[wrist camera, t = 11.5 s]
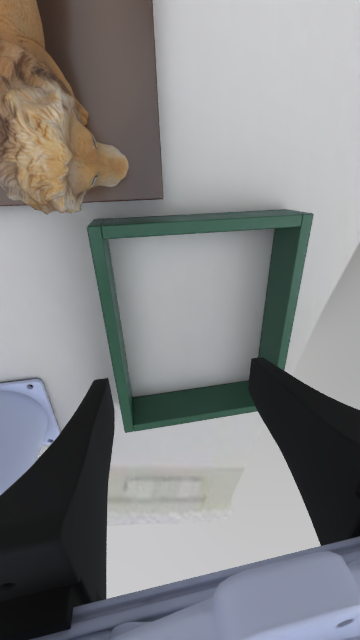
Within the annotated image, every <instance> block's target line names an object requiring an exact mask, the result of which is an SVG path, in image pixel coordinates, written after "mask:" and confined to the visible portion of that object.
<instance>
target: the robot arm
mask: <svg viewBox="0 0 360 640" xmlns="http://www.w3.org/2000/svg"><path fill="white" fill-rule="evenodd" d="M28 384H31V385H32V386H29V385H28ZM248 390H249V393H250V395H251V398H252V400H253V403H254V405H255V407H256V409H257V411H258V412H259V414H260V416H261V417H262V419H263V421H264V423H265V424H266V426H267V428H268V429H269V431H270V433H271V434H272V436H273V438H274V439H275V441H276V443H277V445H278V446H279V448H280V450H281V452H282V454H283V456H284V458H285V460H286V462H287V464H288V467H289V469H290V471H291V473H292V475H293V477H294V480H295V482H296V484H297V487H298V489H299V491H300V493H301V496H302V498H303V500H304V503H305V506H306V508H307V510H308V513H309V516H310V518H311V520H312V523H313V526H314V528H315V531H316V534H317V536H318V539H319V541H320V544H321V546H320V547H315V548H311V549H307V550H303V551H299V552H295V553H291V554H287V555H283V556H279V557H275V558H271V559H267V560H263V561H259V562H255V563H251V564H247V565H243V566H239V567H235V568H230V569H227V570H222V571H218V572H214V573H210V574H207V575H203V576H198V577H194V578H191V579H186V580H182V581H178V582H174V583H170V584H166V585H162V586H158V587H154V588H150V589H146V590H142V591H138V592H134V593H129V594H126V595H121V596H117V597H113V598H109V599H106V537H107V495H108V478H109V470H110V462H111V454H112V445H113V437H114V405H113V400H112V395H111V390H110V385H109V380H108V378H105V379H97V380H94V382H93V383H92V385H91V387H90V389H89V390H88V392H87V394H86V396H85V397H84V399H83V401H82V402H81V404H80V405H79V407H78V409H77V410H76V412H75V413H74V415H73V416H72V418H71V419H70V421H69V422H68V423H67V425H66V426H65V427H64V429H63V430H62V432H61V433H60V430H59V427H58V424H57V422H56V419H55V416H54V413H53V410H52V407H51V404H50V402H49V399H48V396H47V393H46V390H45V387H44V384H43V382H42V381H41V380H40V379H31V380H23V381H15V382H8V383H0V640H360V410H358V409H355V408H353V407H350V406H347V405H345V404H343V403H341V402H339V401H337V400H335V399H332V398H330V397H328V396H326V395H324V394H322V393H320V392H319V391H317V390H315V389H313V388H311V387H310V386H308V385H306V384H304V383H303V382H301V381H299V380H298V379H296V378H295V377H293V376H291V375H290V374H288V373H287V372H285V371H284V370H282V369H281V368H279V367H278V366H276V365H274V364H273V363H271V362H270V361H268V360H267V359H265V358H263V357H261V358H253V359H251V368H250V377H249V386H248ZM48 444H51V445H50V446H49V448H48V449H47V450H46V451H45V452H44V453H43V454H42V455H41V456H40V458H39V459H38V460H37V458H38V455H39V452H40V449H41V446H42V445H48Z"/></svg>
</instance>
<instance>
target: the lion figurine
mask: <svg viewBox="0 0 360 640" xmlns="http://www.w3.org/2000/svg"><path fill="white" fill-rule="evenodd" d="M88 116H89V115H88V112H87V111H86V109H85V108H84V107H83V106H82V105H81V104H80V103H79V102H78V101H77V99H76V98H75V97H74V94H73V91H72V88H71V86H70V85H69V83H68V82H67V80H66V79H65V77H64V75H63V73H62V72H61V70H60V69H59V67H58V66H57V64H56V63H55V62H54V60H53V59H52V58H51V56H50V55H49V54H48V53H47V52H46V51H45V42H44V34H43V27H42V22H41V18H40V14H39V10H38V6H37V2H36V0H0V186H1V187H2V188H3V189H4V190H5V191H6V192H7V196H8V197H9V198H10V199H12V200H22V201H23V202H24V203H25V204H27V205H29V206H31V207H33V208H34V209H36V210H41V211H43V212H44V213H45V214H49V213H50V212H52V211H59V212H61V213H64V212H65V211H66V212H68V213H72V212H79V211H81V209H80V206H81V204H82V201H83V197H84V195H85V193H86V191H87V190H89V189H91V188H93V187H95V186H98V185H101V186H107V187H113V186H116V185H117V184H118V183H119V182H120V180H121V179H123V178H124V177H125V176H126V174H127V171H128V161H127V158H126V157H125V155H123V154H121V152H120V151H119V150H118V149H117V148H115V147H114V146H112V145H107V144H101V143H98V142H96V140H95V138H94V136H93V134H92V133H91V132H90V131H89V130H88V129H87V128H86V127H84V126H85V125H86V124H87V119H88Z"/></svg>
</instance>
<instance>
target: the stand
mask: <svg viewBox="0 0 360 640" xmlns="http://www.w3.org/2000/svg"><path fill="white" fill-rule="evenodd" d="M36 2H37V6H38V10H39V14H40V18H41V22H42V27H43V34H44V42H45V51H46V52H47V53H48V54H49V55H50V56H51V58H52V59H53V60H54V62H55V63H56V64H57V66H58V67H59V69H60V70H61V72H62V73H63V75H64V77H65V79H66V80H67V82H68V83H69V85H70V86H71V88H72V91H73V94H74V97H75V98H76V99H77V101H78V102H79V103H80V104H81V105H82V106H83V107H84V108H85V109H86V111H87V112H88V115H89V116H88V119H87V124H86V125H85V126H84V127H86V128H87V129H88V130H89V131H90V132H91V133H92V134H93V136H94V138H95V140H96V142H98V143H101V144H107V145H112V146H114V147H115V148H117V149H118V150H119V151H120V152H121V154H123V155H125V157H126V158H127V161H128V171H127V174H126V176H125V177H124V178H123V179H121V180H120V182H119V183H118V184H117V185H116V186H113V187H107V186H101V185H98V186H95V187H93V188H91V189H89V190H87V191H86V193H85V195H84V197H83V201H82V203H87V202H109V201H132V200H154V199H163V183H162V165H161V147H160V129H159V111H158V93H157V75H156V57H155V39H154V21H153V3H152V0H36ZM19 205H27V204H25V203H24V202H23V201H22V200H12V199H10V198H9V197H8V196H7V192H6V191H5V190H4V189H3V188H2V187H1V186H0V206H19Z"/></svg>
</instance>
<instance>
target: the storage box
mask: <svg viewBox="0 0 360 640" xmlns="http://www.w3.org/2000/svg"><path fill="white" fill-rule="evenodd" d="M312 220H313V214H312V213H306V212H299V211H293V210H287V209H284V210H266V211H247V212H228V213H209V214H190V215H172V216H153V217H134V218H115V219H105V220H104V219H97V220H93V221H92V222H91V223H90V224H89V225H88V227H87V231H88V236H89V241H90V247H91V252H92V258H93V263H94V268H95V274H96V279H97V285H98V290H99V295H100V301H101V306H102V312H103V317H104V322H105V328H106V333H107V339H108V344H109V349H110V355H111V360H112V366H113V371H114V376H115V382H116V387H117V393H118V398H119V403H120V409H121V414H122V420H123V425H124V430H125V433H127V432H133V431H140V430H146V429H152V428H158V427H164V426H171V425H177V424H183V423H189V422H195V421H201V420H207V419H213V418H219V417H225V416H232V415H238V414H244V413H250V412H256V411H257V409H256V407H255V405H254V403H253V400H252V398H251V395H250V393H249V390H248V386H249V381H244V382H237V383H231V384H224V385H217V386H210V387H203V388H197V389H190V390H183V391H176V392H169V393H162V394H156V395H149V396H142V397H135V398H132V393H131V386H130V380H129V373H128V367H127V360H126V354H125V347H124V340H123V334H122V327H121V321H120V314H119V308H118V301H117V295H116V288H115V282H114V275H113V269H112V262H111V256H110V249H109V243H108V239H116V238H131V237H147V236H163V235H179V234H194V233H210V232H226V231H242V230H257V229H273V228H275V232H274V240H273V247H272V255H271V263H270V271H269V279H268V287H267V294H266V302H265V310H264V318H263V326H262V334H261V341H260V349H259V357H258V358H261V357H263V358H265V359H267V360H268V361H270V362H271V363H273V364H274V365H276V366H278V367H279V368H281V369H282V370H284V369H285V364H286V358H287V353H288V348H289V342H290V337H291V332H292V326H293V321H294V316H295V310H296V305H297V300H298V294H299V289H300V284H301V278H302V273H303V268H304V262H305V257H306V252H307V246H308V241H309V236H310V230H311V225H312Z"/></svg>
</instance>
